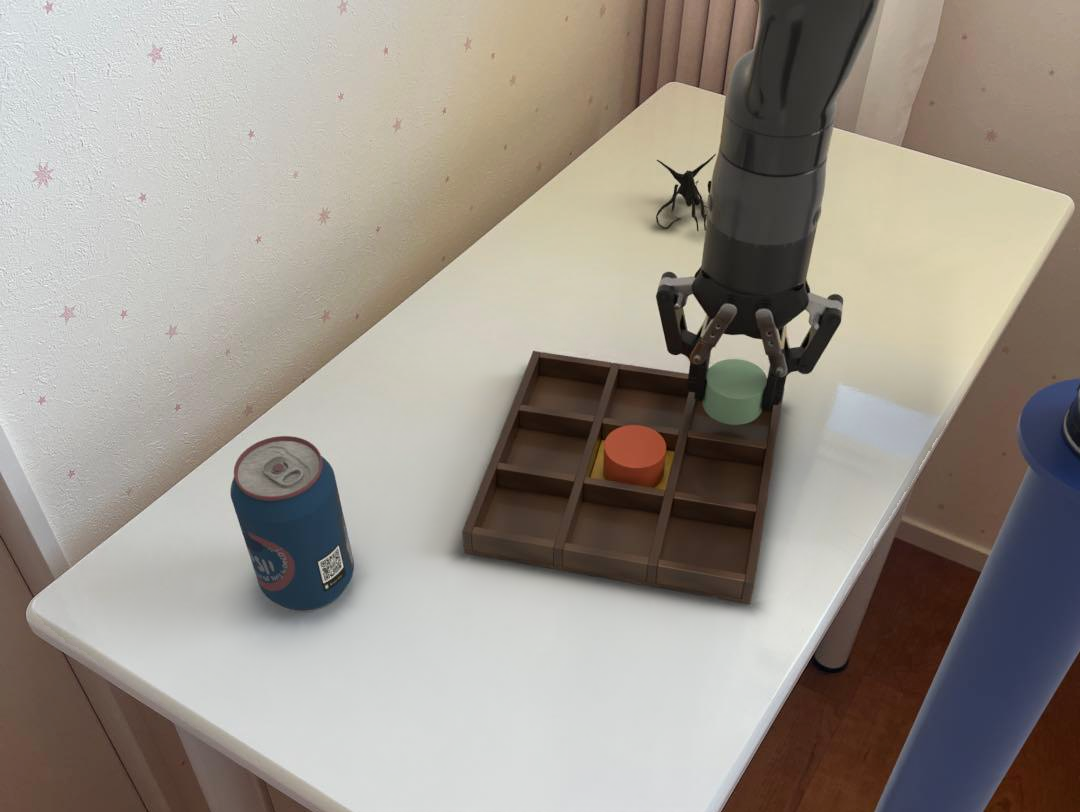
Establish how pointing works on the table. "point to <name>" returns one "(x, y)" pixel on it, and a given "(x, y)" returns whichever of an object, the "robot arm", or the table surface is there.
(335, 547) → the soda can
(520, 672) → the table surface
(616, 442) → the cylinder
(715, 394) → the sage token
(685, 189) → the creature
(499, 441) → the grid
